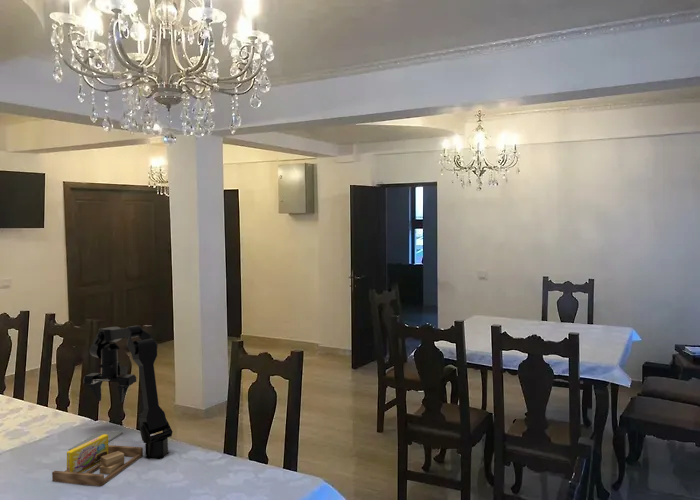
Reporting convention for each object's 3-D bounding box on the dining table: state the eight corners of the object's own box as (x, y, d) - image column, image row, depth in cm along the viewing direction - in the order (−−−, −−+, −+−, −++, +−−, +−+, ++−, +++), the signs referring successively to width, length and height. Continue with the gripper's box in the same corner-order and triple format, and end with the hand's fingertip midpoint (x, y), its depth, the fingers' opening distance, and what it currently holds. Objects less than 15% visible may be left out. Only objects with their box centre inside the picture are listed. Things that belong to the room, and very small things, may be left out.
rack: (142, 456, 190) (142, 447, 189) (101, 486, 168) (101, 476, 168) (98, 452, 193) (98, 444, 193) (52, 482, 171) (52, 472, 171)
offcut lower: (124, 466, 182) (124, 459, 182) (110, 475, 176) (110, 468, 175) (113, 465, 183) (113, 458, 183) (99, 474, 176) (99, 466, 176)
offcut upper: (124, 461, 181) (124, 453, 181) (106, 467, 176) (106, 459, 176) (118, 458, 183) (118, 450, 183) (100, 464, 178) (100, 456, 178)
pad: (122, 433, 211) (122, 432, 211) (91, 452, 193) (91, 450, 193) (100, 432, 212) (100, 430, 212) (68, 451, 195) (68, 449, 195)
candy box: (71, 478, 173) (70, 452, 173) (66, 478, 174) (65, 451, 173) (109, 458, 188) (108, 434, 188) (104, 457, 189) (103, 433, 189)
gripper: (143, 356, 217) (144, 396, 217) (100, 354, 220) (101, 394, 221) (127, 363, 206) (128, 405, 206) (81, 361, 209) (83, 402, 210)
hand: (110, 401), depth 211 cm, fingers open, 9 cm apart
